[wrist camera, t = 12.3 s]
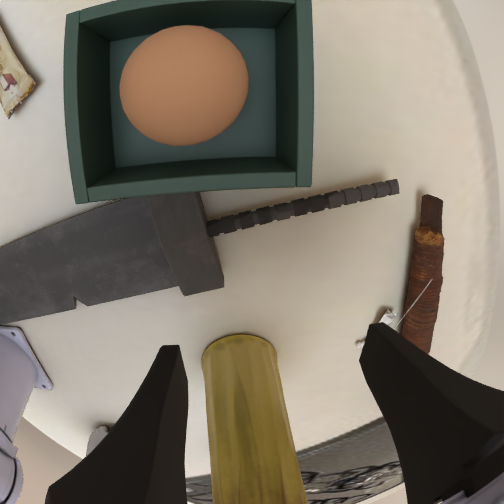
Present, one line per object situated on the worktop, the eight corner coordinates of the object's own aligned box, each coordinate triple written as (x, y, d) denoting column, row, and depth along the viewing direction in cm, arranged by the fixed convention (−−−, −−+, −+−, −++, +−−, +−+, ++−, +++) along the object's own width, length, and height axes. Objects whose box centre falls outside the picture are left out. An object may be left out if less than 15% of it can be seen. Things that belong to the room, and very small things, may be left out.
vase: (197, 380, 24) (203, 539, 11) (205, 328, 22) (214, 524, 9) (266, 384, 25) (298, 532, 13) (285, 335, 23) (339, 510, 10)
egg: (124, 115, 14) (67, 121, 8) (171, 30, 12) (146, -19, 6) (210, 156, 16) (208, 185, 10) (259, 72, 14) (293, 45, 8)
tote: (109, 179, 16) (75, 204, 11) (102, 35, 12) (65, 14, 8) (285, 166, 17) (312, 187, 13) (284, 21, 13) (311, -8, 9)
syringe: (347, 347, 25) (364, 345, 26) (357, 365, 24) (373, 361, 24) (411, 261, 20) (427, 262, 20) (427, 279, 18) (441, 279, 19)
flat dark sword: (-42, 259, 16) (-54, 270, 15) (383, 126, 16) (400, 129, 14) (-6, 325, 20) (-16, 338, 18) (392, 233, 19) (406, 245, 17)
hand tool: (400, 396, 31) (416, 414, 28) (380, 408, 30) (395, 428, 27) (430, 185, 19) (466, 198, 16) (401, 193, 18) (439, 209, 15)
